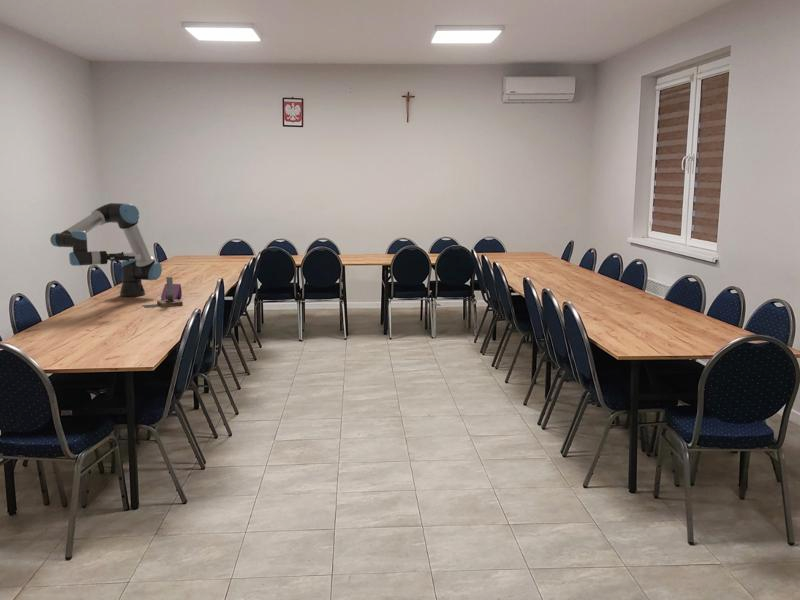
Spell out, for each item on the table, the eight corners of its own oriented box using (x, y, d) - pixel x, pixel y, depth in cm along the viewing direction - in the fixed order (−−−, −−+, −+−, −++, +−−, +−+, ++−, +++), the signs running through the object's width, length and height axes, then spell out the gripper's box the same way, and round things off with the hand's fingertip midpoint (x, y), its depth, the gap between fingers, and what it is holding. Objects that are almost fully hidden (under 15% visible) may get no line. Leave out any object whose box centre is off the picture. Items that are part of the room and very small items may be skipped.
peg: (167, 305, 434) (165, 277, 431) (172, 304, 436) (171, 276, 433) (168, 306, 431) (167, 277, 428) (174, 305, 433) (173, 277, 430)
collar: (157, 304, 435) (157, 300, 435) (177, 303, 441) (177, 299, 441) (162, 307, 425) (161, 303, 425) (182, 306, 431) (182, 301, 431)
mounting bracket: (177, 311, 446) (182, 294, 461) (175, 300, 441) (180, 283, 456) (161, 311, 445) (167, 294, 460) (159, 300, 441) (165, 283, 455)
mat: (141, 306, 430) (141, 305, 430) (155, 304, 435) (155, 304, 435) (145, 308, 422) (145, 308, 422) (159, 307, 426) (159, 306, 426)
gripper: (96, 262, 424) (133, 260, 435) (103, 266, 403) (143, 264, 414) (95, 249, 423) (133, 247, 434) (102, 253, 402) (142, 251, 413)
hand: (138, 255), depth 424 cm, fingers open, 13 cm apart
